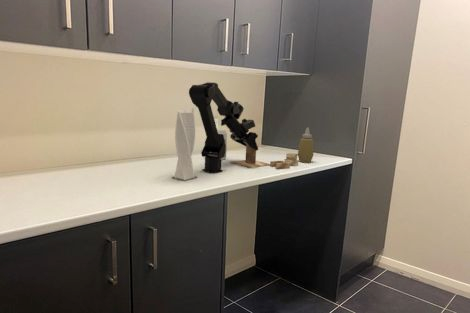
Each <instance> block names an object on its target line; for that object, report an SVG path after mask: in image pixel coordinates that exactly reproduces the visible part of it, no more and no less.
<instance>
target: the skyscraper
mask: <svg viewBox="0 0 470 313" xmlns="http://www.w3.org/2000/svg"><path fill="white" fill-rule="evenodd" d="M194 106H195V105H194ZM194 106H193V105H192V106H191V111H190V109H181V111H180V109H178V110H177V114H176V121H175V129H174V130H175V131H174V140H175V141H174V142H175V149H176V155H177V162H176V167H175V172H174V173H175V174H174V176H171V179H175V180H177V181H183V182H186V181H190V180H194V179H198V176H196V175H195V174H194V167H193V160H192V159H193V158H192V155H193V152H194V147H195V140H196V123H195V122H196V120H195V113H194V111H195V110H194V109H195V107H194Z"/></svg>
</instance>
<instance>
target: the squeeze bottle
mask: <svg viewBox="0 0 470 313" xmlns="http://www.w3.org/2000/svg"><path fill="white" fill-rule="evenodd" d="M312 136H313V135H312V134H311V133H310V127H306V129H305V132H304V134H303V133H302V137H301V138H300V141H299V146H298V151H297V154H298V155H297V159H298V160H299V163H300V162H301V163H305V164H306V163H311V162H312V160H313V157H314V139H312V138H313V137H312Z"/></svg>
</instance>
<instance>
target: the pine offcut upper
mask: <svg viewBox="0 0 470 313" xmlns="http://www.w3.org/2000/svg"><path fill="white" fill-rule="evenodd" d="M285 159H286V160H292V161H294V160H298V153H295V152H287V153H286V158H285Z"/></svg>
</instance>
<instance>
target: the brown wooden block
mask: <svg viewBox="0 0 470 313" xmlns="http://www.w3.org/2000/svg"><path fill="white" fill-rule="evenodd" d="M256 144H257V142H256ZM257 145H258V144H257ZM256 157H257V150H255V149H253V148H251V147H249V146H247V145H246V146H245V159H244V160H245V163H248V164H254V163H255V162H256V161H257V160H256Z"/></svg>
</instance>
